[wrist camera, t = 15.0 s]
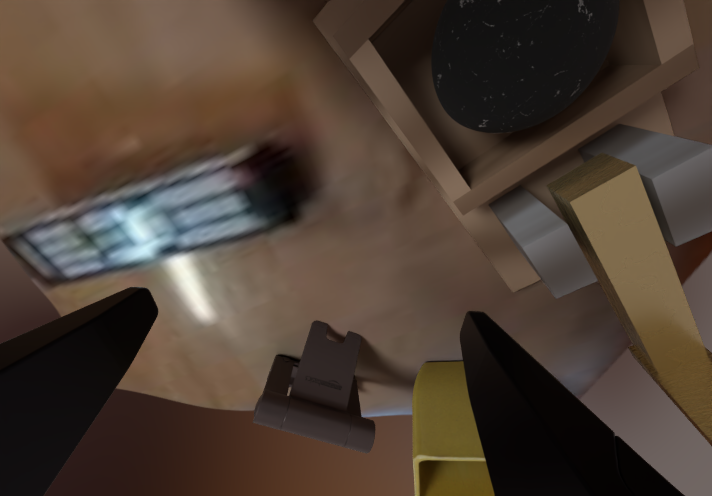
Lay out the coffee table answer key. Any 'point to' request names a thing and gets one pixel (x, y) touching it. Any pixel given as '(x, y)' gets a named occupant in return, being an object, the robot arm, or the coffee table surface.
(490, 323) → the robot arm
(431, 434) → the flower pot
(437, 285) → the coffee table surface
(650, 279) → the beige wooden bar
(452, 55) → the billiard ball
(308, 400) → the portable electronic device stand
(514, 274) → the dock
